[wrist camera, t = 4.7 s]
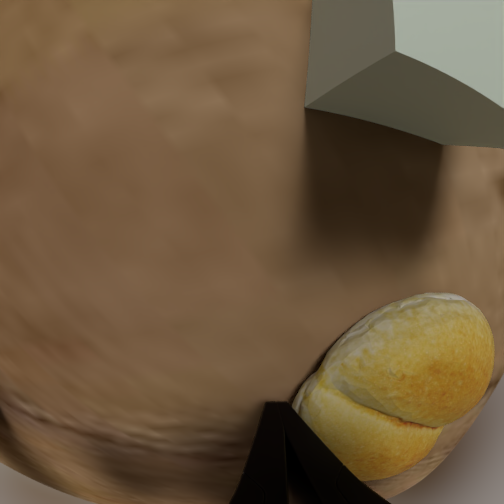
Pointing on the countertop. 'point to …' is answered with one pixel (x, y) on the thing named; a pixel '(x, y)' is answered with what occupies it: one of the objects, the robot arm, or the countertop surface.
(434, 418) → the bread roll
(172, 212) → the countertop surface
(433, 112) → the sage block
